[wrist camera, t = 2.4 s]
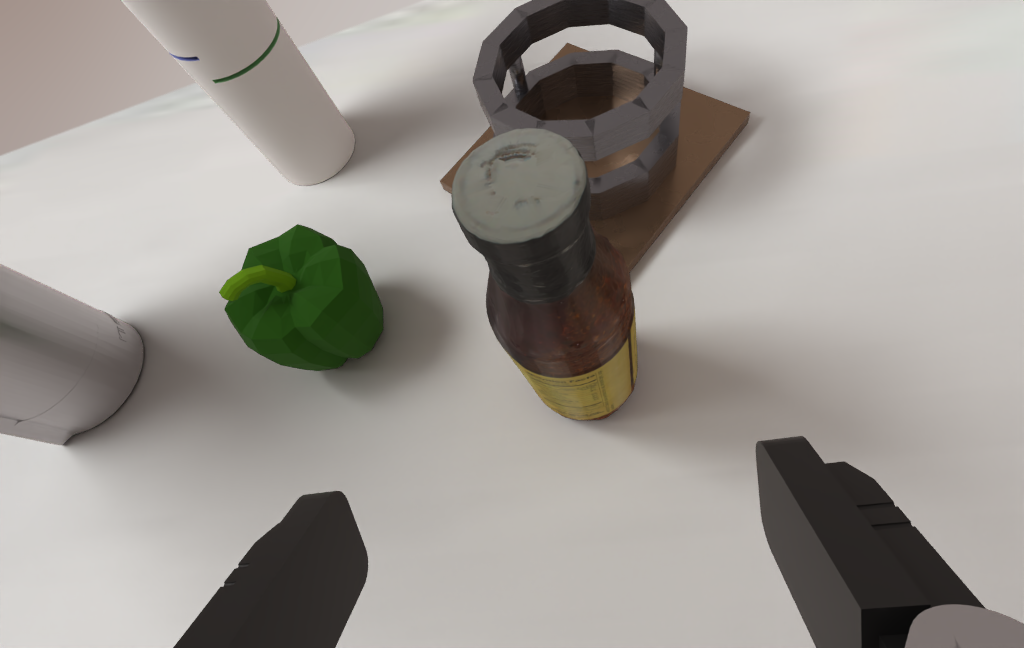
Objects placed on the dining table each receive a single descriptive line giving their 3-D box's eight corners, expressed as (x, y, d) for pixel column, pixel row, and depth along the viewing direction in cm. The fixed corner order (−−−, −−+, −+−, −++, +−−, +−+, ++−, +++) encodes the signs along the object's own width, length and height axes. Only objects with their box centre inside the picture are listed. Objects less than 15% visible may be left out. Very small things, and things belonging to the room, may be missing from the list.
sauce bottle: (564, 316, 35) (487, 62, 17) (654, 354, 33) (673, 105, 15) (516, 403, 33) (376, 222, 15) (608, 450, 31) (567, 299, 13)
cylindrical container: (299, 117, 48) (10, -261, 26) (367, 122, 46) (114, -287, 24) (266, 181, 46) (-84, -177, 24) (335, 189, 44) (22, -196, 22)
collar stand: (615, 290, 35) (608, 209, 27) (444, 189, 41) (397, 99, 33) (747, 122, 38) (776, 4, 30) (568, 53, 44) (553, -59, 36)
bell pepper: (385, 262, 40) (312, 175, 31) (414, 355, 36) (340, 288, 27) (284, 307, 40) (183, 234, 31) (302, 404, 36) (193, 353, 28)
